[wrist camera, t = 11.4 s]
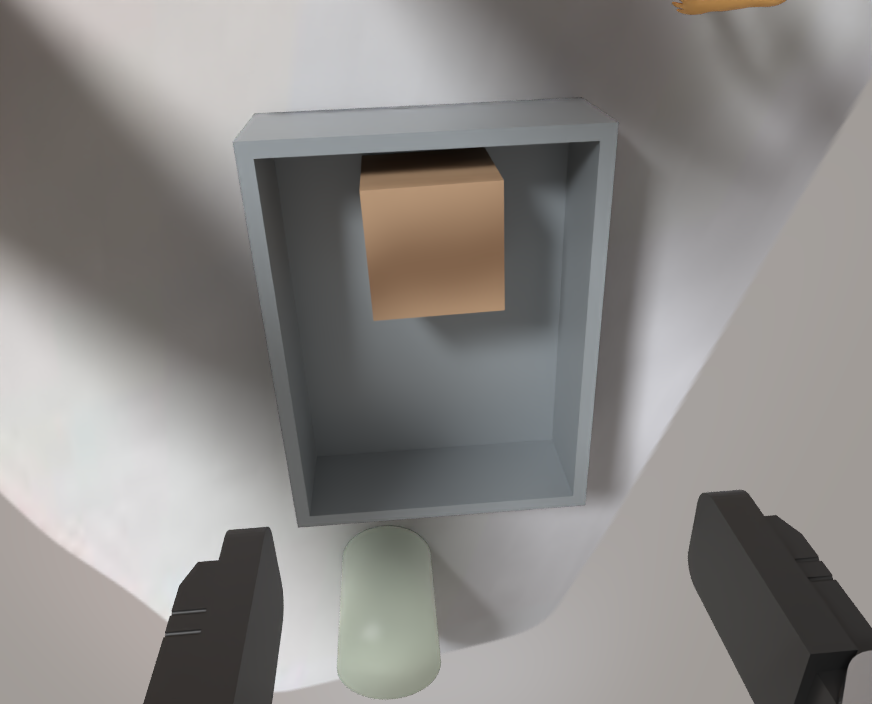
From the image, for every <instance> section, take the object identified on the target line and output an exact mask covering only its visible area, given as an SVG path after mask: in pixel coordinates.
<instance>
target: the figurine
mask: <svg viewBox="0 0 872 704" xmlns="http://www.w3.org/2000/svg"><path fill="white" fill-rule="evenodd" d="M680 1H682V3H677V2H672V4H673V5H674V6H676V7H678V8H682V9H677V11H678V12H680V13H683V14H688V15H697V14H703V13H707V12H713V11H729V10H735V9H742V8H747V7H771V6H776V5H779V4H781V3H783V2H785V1H786V0H680Z"/></svg>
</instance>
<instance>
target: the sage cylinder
mask: <svg viewBox="0 0 872 704" xmlns="http://www.w3.org/2000/svg"><path fill="white" fill-rule="evenodd" d="M440 666H441V659H440V648H439V638H438V627H437V617H436V606H435V596H434V585H433V575H432V564H431V554H430V550H429V547H428V545H427V543H426V542H425V541H424V539H423V538H422V537H421V536H419V535H418V534H416V533H415V532H413V531H411V530H409V529H406V528H402V527H397V526H380V527H375V528H371V529H368V530H365V531H363V532H361V533H360V534H358V535H356V536H355V537H354V538H353V539H352V540H351V541H350V542H349V543H348V544H347V546H346V548H345V550H344V553H343V558H342V577H341V596H340V616H339V636H338V655H337V673H338V676H339V678H340V680H341V681H342V683H343V684H344V685H345V686H346V687H347V688H349V689H350V690H351V691H353V692H355V693H357V694H359V695H362V696H365V697H368V698H374V699H396V698H402V697H407V696H409V695H413V694H415V693H417V692H419V691H421V690H423V689H424V688H426V687H427V686H428V685H429V684H431V683H432V682H433V680H434V679H435V678H436V676H437V675H438V673H439V670H440Z"/></svg>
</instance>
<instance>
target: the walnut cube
mask: <svg viewBox="0 0 872 704" xmlns="http://www.w3.org/2000/svg"><path fill="white" fill-rule="evenodd" d="M360 201H361V210H362V219H363V228H364V238H365V247H366V256H367V266H368V275H369V284H370V293H371V303H372V312H373V321H379V320H392V319H404V318H416V317H428V316H440V315H453V314H465V313H477V312H489V311H502V310H505V276H504V180H503V178H502V176H501V175H500V173H499V171H498V169H497V168H496V166H495V164H494V163H493V161H492V159H491V157H490V156H489V154H488V152H487V151H486V149H485V147H477V148H463V149H449V150H435V151H421V152H408V153H394V154H380V155H366V156H362V160H361V175H360Z"/></svg>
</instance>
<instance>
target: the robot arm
mask: <svg viewBox="0 0 872 704" xmlns="http://www.w3.org/2000/svg"><path fill="white" fill-rule="evenodd" d="M688 564H689V571H690V575H691V579H692V582H693V584H694V586H695V589H696V591H697V593H698V595H699V597H700V598H701V600H702V602H703V604H704V606H705V608H706V610H707V612H708V614H709V616H710V618H711V620H712V622H713V624H714V626H715V628H716V630H717V632H718V634H719V636H720V637H721V639H722V641H723V643H724V645H725V647H726V649H727V651H728V653H729V655H730V657H731V659H732V661H733V663H734V665H735V667H736V669H737V671H738V673H739V674H740V676H741V678H742V680H743V682H744V684H745V686H746V688H747V690H748V692H749V694H750V696H751V698H752V700H753V702H754V704H872V628H871V627H870V625H869V624H868V622H867V621H866V620H865V618H864V617H863V615H862V614H861V613H860V611H859V610H858V609H857V607H856V606H855V605H854V603H853V602H852V601H851V599H850V598H849V597H848V596H847V594H846V593H845V591H844V590H843V589H842V587H841V586H840V585H839V583H838V582H837V581H836V580H833V578H832V574H831V573H830V571H829V570H828V569H827V567H826V566H825V565H824V563H823V562H822V561H819V558H818V555H817V554H816V553H815V551H814V550H813V548H812V547H811V546H810V544H809V543H808V542H807V540H806V539H805V538H804V536H803V535H802V534H801V533H800V532H798V531H797V530H796V529H794V528H793V527H791V526H790V525H789V524H787V523H786V522H785V521H783V520H782V519H780V518H779V517H778V516H776V515H773V516H764V515H763V514H762V512H761V511H760V509H759V508H758V507H757V505H756V504H755V502H754V501H753V499H752V498H751V497H750V495H749V494H748V493H747V492H746V491H744V490H733V491H720V492H709V493H702V494H701V495H700V497H699V499H698V503H697V508H696V514H695V519H694V524H693V530H692V535H691V541H690V546H689V552H688ZM283 606H284V605H283V589H282V582H281V577H280V572H279V567H278V562H277V557H276V552H275V547H274V542H273V537H272V532H271V529H270V528H269V527H260V528H248V529H235V530H228V531H227V532H226V535H225V538H224V542H223V546H222V549H221V553H220V557H219V560H216V561H204V562H198V563H197V564H196V565H195V566H194V568H193V569H192V570H191V571H190V573H189V574H188V575H187V576H186V578H185V579H184V580H183V582H182V583H181V584H180V585H179V588H178V592H177V595H176V598H175V602H174V605H173V608H172V616H170V618H169V621H168V624H167V628H166V631H165V638H163V641H162V644H161V647H160V651H159V654H158V657H157V661H156V664H155V667H154V671H153V674H152V677H151V680H150V684H149V687H148V690H147V693H146V697H145V700H144V703H143V704H272V698H273V691H274V684H275V676H276V668H277V661H278V653H279V646H280V638H281V631H282V623H283Z"/></svg>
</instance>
